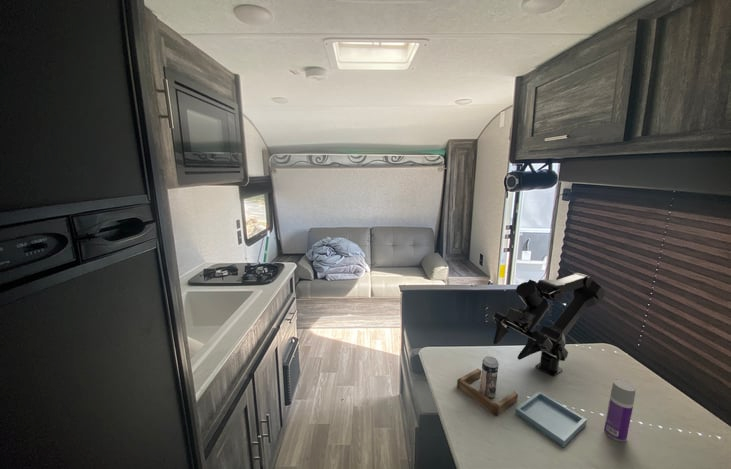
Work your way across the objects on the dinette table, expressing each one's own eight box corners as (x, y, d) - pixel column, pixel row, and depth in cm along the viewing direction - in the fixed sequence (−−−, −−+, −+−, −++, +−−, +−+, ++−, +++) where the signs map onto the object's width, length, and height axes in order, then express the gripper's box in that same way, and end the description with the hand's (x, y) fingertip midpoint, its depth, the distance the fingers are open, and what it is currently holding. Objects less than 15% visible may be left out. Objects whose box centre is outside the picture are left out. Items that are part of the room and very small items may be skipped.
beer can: (488, 401, 91) (491, 366, 89) (476, 391, 95) (479, 358, 93) (499, 395, 93) (502, 362, 91) (486, 386, 98) (489, 354, 95)
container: (630, 443, 77) (641, 392, 74) (610, 439, 78) (619, 390, 75) (619, 428, 81) (628, 380, 79) (600, 425, 82) (608, 378, 79)
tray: (538, 396, 93) (539, 391, 93) (585, 425, 82) (586, 419, 82) (514, 413, 86) (515, 407, 86) (563, 447, 75) (564, 441, 75)
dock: (477, 376, 103) (478, 368, 102) (517, 402, 91) (518, 393, 90) (456, 387, 97) (457, 379, 96) (496, 416, 85) (497, 407, 85)
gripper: (498, 289, 102) (472, 325, 99) (551, 311, 85) (521, 354, 83) (512, 307, 106) (487, 341, 104) (564, 331, 90) (536, 372, 87)
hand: (505, 351), depth 94 cm, fingers open, 9 cm apart
